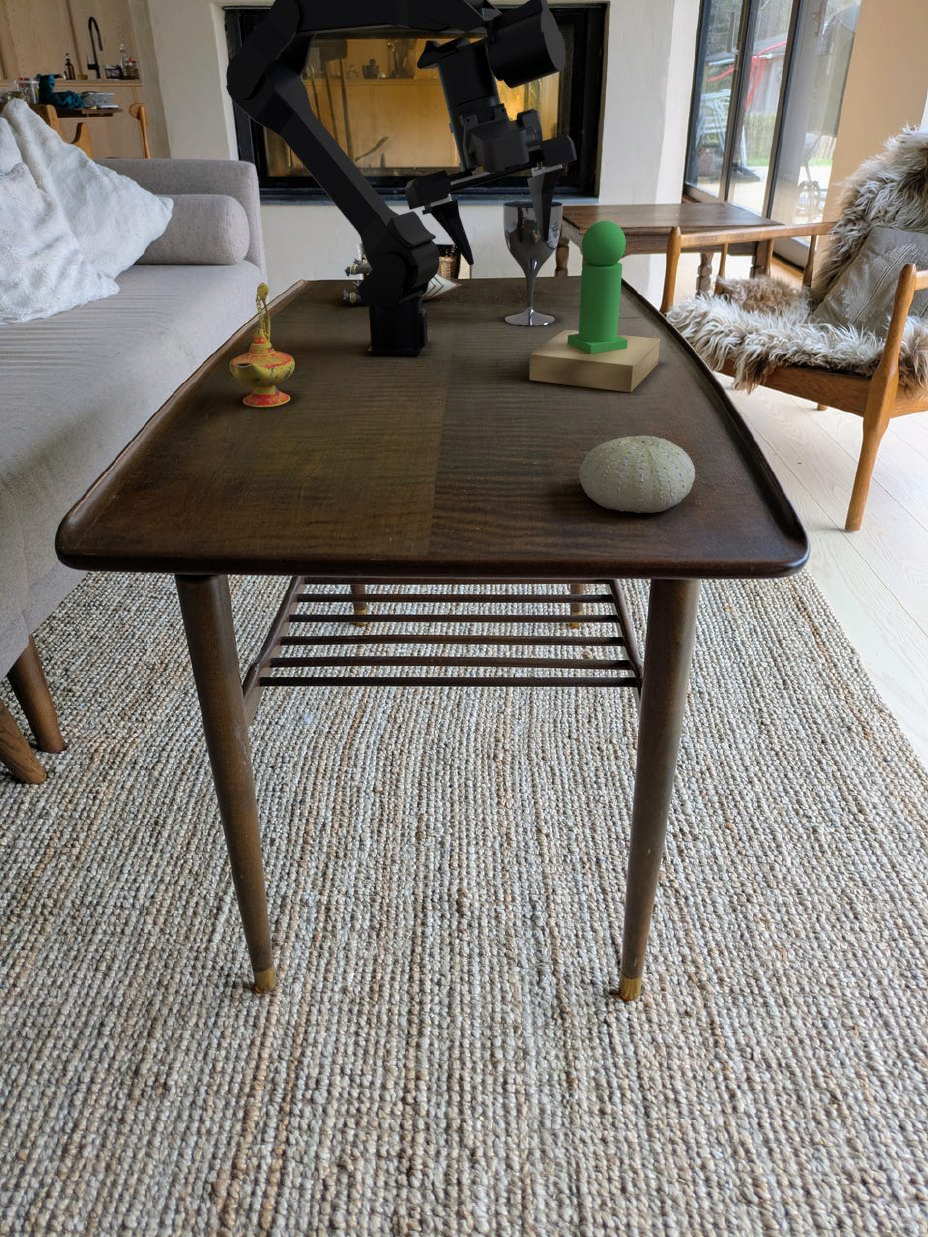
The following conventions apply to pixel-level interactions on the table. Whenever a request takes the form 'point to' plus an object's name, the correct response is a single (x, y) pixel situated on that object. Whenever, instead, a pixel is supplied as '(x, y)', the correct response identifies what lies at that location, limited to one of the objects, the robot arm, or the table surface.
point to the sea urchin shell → (637, 474)
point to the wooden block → (594, 363)
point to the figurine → (434, 289)
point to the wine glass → (530, 250)
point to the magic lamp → (263, 364)
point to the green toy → (600, 289)
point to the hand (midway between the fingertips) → (508, 253)
